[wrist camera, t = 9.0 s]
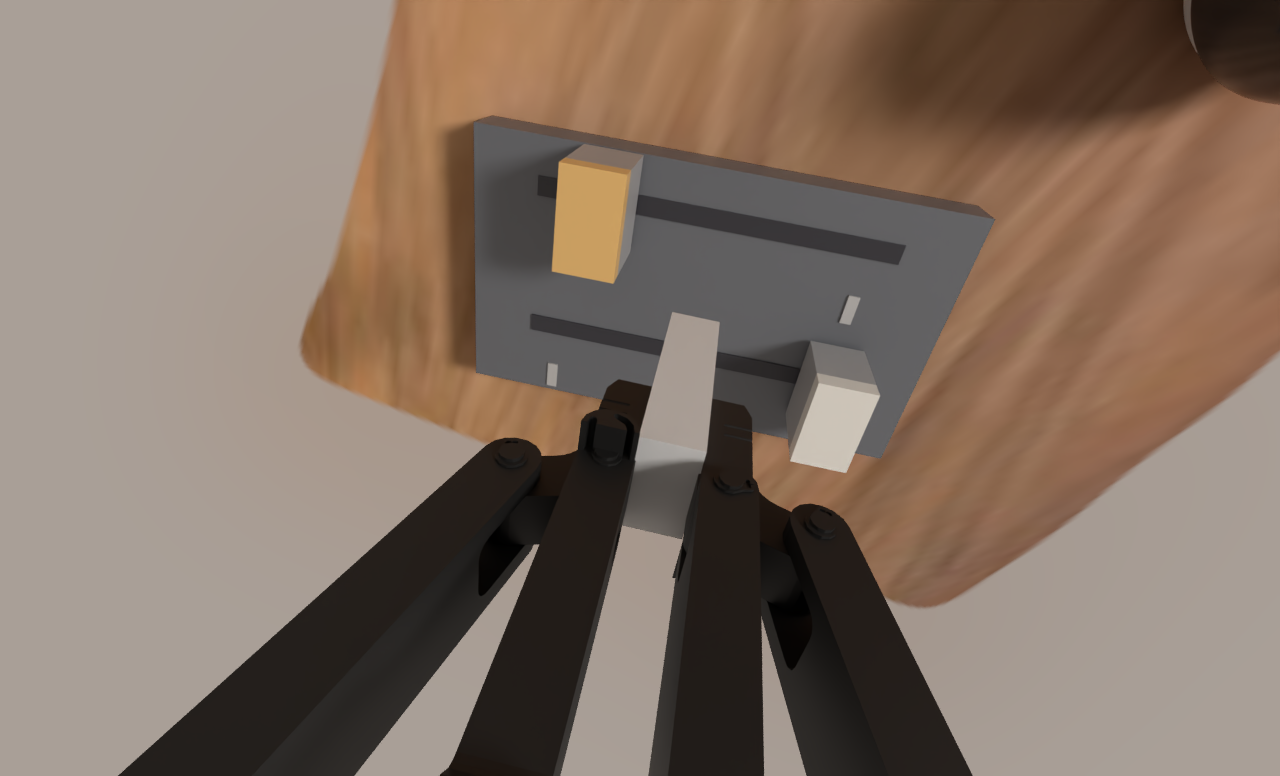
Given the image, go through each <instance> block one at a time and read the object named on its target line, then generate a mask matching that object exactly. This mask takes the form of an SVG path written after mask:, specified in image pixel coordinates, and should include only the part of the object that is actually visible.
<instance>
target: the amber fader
mask: <svg viewBox="0 0 1280 776" xmlns="http://www.w3.org/2000/svg"><path fill="white" fill-rule="evenodd" d="M643 157H644V155H641V154H636V153H631V152H625V151H620V150H615V149H609V148H604V147H599V146H593V145H588V144H583V145H582V146H581V147H579V148H578V149H576V150H575V151H574V152H572V153H571V154H569V155H568V156H567V157H565V158H564V159H562V160H561V161H560V162H559V168H558V183H557V199H556V214H555V229H554V244H553V260H552V272H557V273H562V274H567V275H572V276H577V277H582V278H587V279H592V280H597V281H602V282H607V283H612V284H613V283H614V282H615V280H616V278H617V276H618V274H619V272H620V270H621V268H622V266H623V265H624V263H625V261H626V259H627V257H628V255H629V253H630V250H631V242H632V235H633V228H634V221H635V214H636V207H637V200H638V192H639V185H640V178H641V171H642V164H643Z"/></svg>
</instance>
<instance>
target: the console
mask: <svg viewBox="0 0 1280 776" xmlns="http://www.w3.org/2000/svg"><path fill="white" fill-rule="evenodd" d="M583 144H588V145H593V146H599V147H604V148H609V149H615V150H620V151H625V152H631V153H636V154H641V155H644V157H643V164H642V171H641V178H640V185H639V192H638V200H637V207H636V214H635V221H634V228H633V235H632V242H631V250H630V253H629V255H628V257H627V259H626V261H625V263H624V265H623V266H622V268H621V270H620V272H619V274H618V276H617V278H616V280H615V282H614V283H613V284H612V283H607V282H602V281H597V280H592V279H587V278H582V277H577V276H572V275H567V274H562V273H557V272H552V260H553V244H554V229H555V214H556V199H557V183H558V168H559V162H560V161H561V160H562V159H564V158H565V157H567V156H568V155H569V154H571V153H572V152H574V151H575V150H576V149H578V148H579V147H581V146H582V145H583ZM474 206H475V305H476V373H480V374H485V375H489V376H494V377H499V378H504V379H508V380H513V381H518V382H522V383H527V384H532V385H536V386H541V387H546V388H551V389H555V390H560V391H565V392H569V393H574V394H579V395H584V396H588V397H593V398H598V399H602V400H603V397H604V394H605V392H606V389H607V387H608V386H610V385H611V384H612V383H614V382H615V381H616V380H618V379H620V380H625V381H629V382H634V383H639V384H643V385H648V386H653V382H654V378H655V375H656V371H657V367H658V363H659V360H660V356H661V352H662V349H663V345H664V341H665V337H666V334H667V330H668V326H669V323H670V319H671V315H672V312H675V313H679V314H684V315H689V316H693V317H698V318H703V319H707V320H712V321H717V322H720V325H719V335H718V345H717V355H716V365H715V375H714V385H713V395H712V399H717V400H721V401H726V402H730V403H735V404H739V405H744V406H745V407H746V409H747V410H748V412H749V414H750V415H751V417H752V431H753V432H758V433H763V434H767V435H772V436H777V437H782V438H786V439H788V434H787V423H786V411H787V408H788V405H789V402H790V399H791V396H792V393H793V390H794V387H795V385H796V382H797V379H798V376H799V373H800V370H801V367H802V364H803V361H804V358H805V356H806V353H807V350H808V347H809V344H810V341H815V342H820V343H825V344H829V345H834V346H839V347H844V348H849V349H854V350H859V351H864V352H865V354H866V357H867V360H868V363H869V365H870V368H871V371H872V374H873V377H874V380H875V382H876V385H877V388H878V391H879V394H880V397H879V400H878V402H877V404H876V406H875V409H874V411H873V413H872V415H871V418H870V420H869V422H868V424H867V427H866V429H865V431H864V433H863V436H862V438H861V440H860V442H859V445H858V447H857V449H856V451H855V453H857V454H862V455H866V456H871V457H876V458H881V457H882V455H883V452H884V450H885V448H886V446H887V444H888V442H889V440H890V438H891V436H892V434H893V432H894V429H895V427H896V425H897V423H898V421H899V419H900V417H901V415H902V413H903V411H904V409H905V407H906V404H907V402H908V400H909V398H910V396H911V394H912V392H913V390H914V388H915V386H916V384H917V381H918V379H919V377H920V375H921V373H922V371H923V369H924V367H925V365H926V363H927V361H928V358H929V356H930V354H931V352H932V350H933V348H934V346H935V344H936V342H937V340H938V338H939V336H940V333H941V331H942V329H943V327H944V325H945V323H946V321H947V319H948V317H949V315H950V313H951V310H952V308H953V306H954V304H955V302H956V300H957V298H958V296H959V294H960V292H961V290H962V287H963V285H964V283H965V281H966V279H967V277H968V275H969V273H970V271H971V269H972V267H973V265H974V262H975V260H976V258H977V256H978V254H979V252H980V250H981V248H982V246H983V244H984V242H985V239H986V237H987V235H988V233H989V231H990V229H991V227H992V225H993V223H994V221H995V219H994V218H993V217H992V216H990V215H989V214H988V213H986V212H985V211H984V210H983V209H981V208H980V207H979V206H976V205H971V204H965V203H960V202H954V201H949V200H944V199H938V198H933V197H928V196H922V195H917V194H911V193H906V192H901V191H895V190H890V189H885V188H879V187H874V186H868V185H863V184H858V183H852V182H847V181H842V180H836V179H831V178H825V177H820V176H815V175H809V174H804V173H799V172H793V171H788V170H782V169H777V168H772V167H766V166H761V165H756V164H750V163H745V162H739V161H734V160H729V159H723V158H718V157H713V156H707V155H702V154H696V153H691V152H686V151H680V150H675V149H669V148H664V147H659V146H653V145H648V144H643V143H637V142H632V141H626V140H621V139H616V138H610V137H605V136H600V135H594V134H589V133H583V132H578V131H573V130H567V129H562V128H557V127H551V126H546V125H540V124H535V123H530V122H524V121H519V120H514V119H508V118H503V117H497V116H489V117H486V118H483V119H480V120H478V121H475V122H474Z"/></svg>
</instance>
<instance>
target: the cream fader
mask: <svg viewBox="0 0 1280 776" xmlns="http://www.w3.org/2000/svg"><path fill="white" fill-rule="evenodd" d="M879 397H880V394H879V391H878V388H877V385H876V382H875V380H874V377H873V374H872V371H871V368H870V365H869V363H868V360H867V357H866V354H865V352H864V351H859V350H854V349H849V348H844V347H839V346H834V345H829V344H825V343H820V342H815V341H810V344H809V347H808V350H807V353H806V356H805V358H804V361H803V364H802V367H801V370H800V373H799V376H798V379H797V382H796V385H795V387H794V390H793V393H792V396H791V399H790V402H789V405H788V408H787V411H786V423H787V434H788V445H789V455H790V461H792V462H797V463H801V464H806V465H811V466H815V467H820V468H825V469H829V470H834V471H839V472H843V473H846V472H847V469H848V467H849V465H850V463H851V460H852V458H853V456H854V454H855V451H856V449H857V447H858V445H859V442H860V440H861V438H862V436H863V433H864V431H865V429H866V427H867V424H868V422H869V420H870V418H871V415H872V413H873V411H874V409H875V406H876V404H877V402H878V400H879Z"/></svg>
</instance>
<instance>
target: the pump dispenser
mask: <svg viewBox="0 0 1280 776" xmlns="http://www.w3.org/2000/svg"><path fill="white" fill-rule="evenodd" d="M1183 9H1184V20H1185V25H1186V30H1187V33H1188V35H1189V38H1190V41H1191V43H1192V45H1193V47H1194V49H1195V51H1196V52H1197V53H1198V55H1199V57H1200V59H1201V61H1202V63H1203V64H1204V66H1205V67H1206V69H1207V70H1208V71H1209V73H1210V74H1211V75H1212V76H1213V77H1214V78H1215V79H1216V80H1217V81H1218V82H1219V83H1220V84H1222V85H1223V86H1224V87H1226V88H1227V89H1229V90H1230V91H1232V92H1234V93H1236V94H1238V95H1240V96H1243V97H1245V98H1248V99H1251V100H1255V101H1259V102H1264V103H1269V104H1276V105H1280V0H1184V6H1183Z"/></svg>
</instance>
